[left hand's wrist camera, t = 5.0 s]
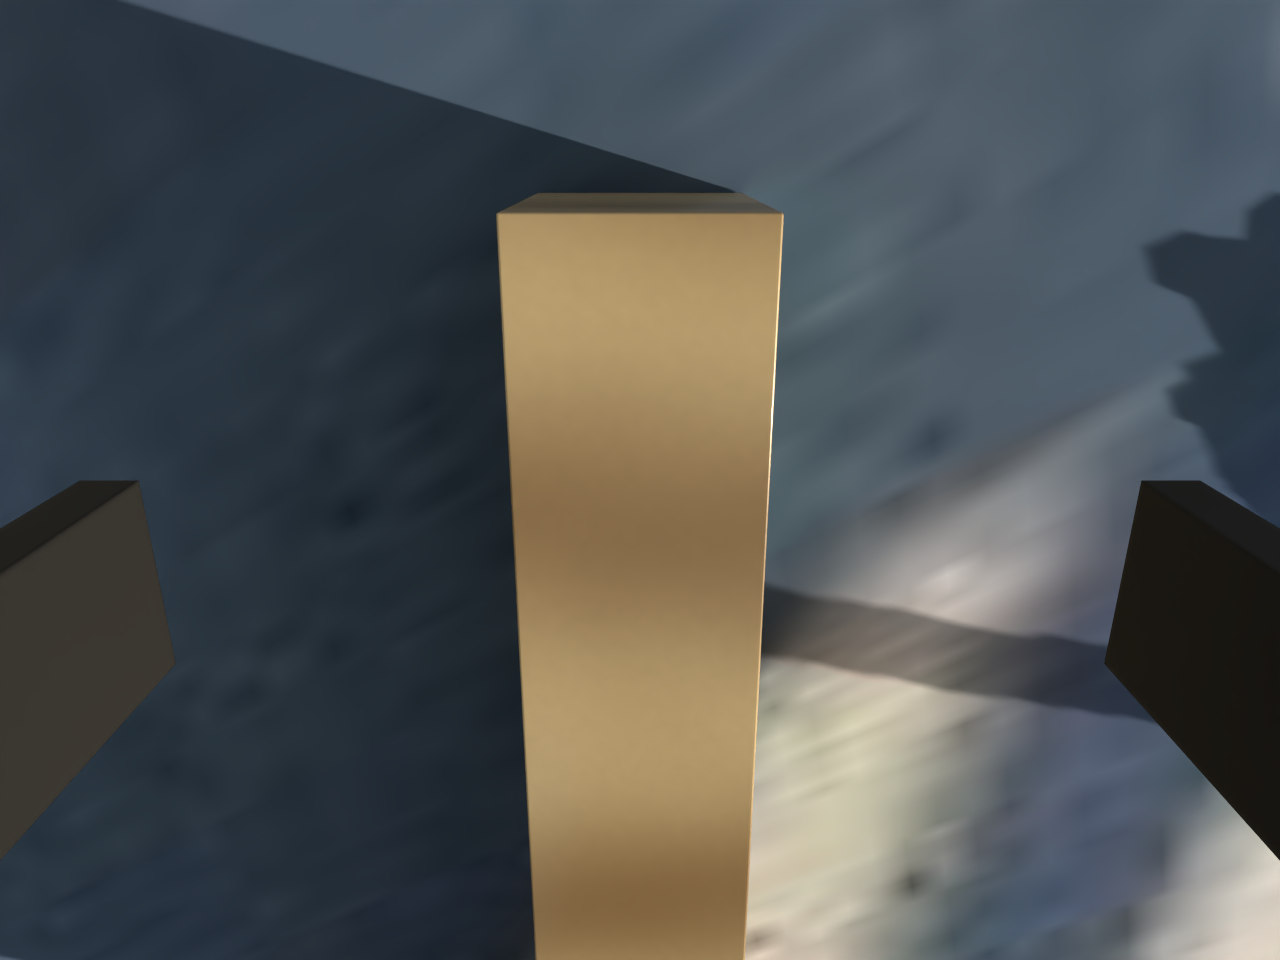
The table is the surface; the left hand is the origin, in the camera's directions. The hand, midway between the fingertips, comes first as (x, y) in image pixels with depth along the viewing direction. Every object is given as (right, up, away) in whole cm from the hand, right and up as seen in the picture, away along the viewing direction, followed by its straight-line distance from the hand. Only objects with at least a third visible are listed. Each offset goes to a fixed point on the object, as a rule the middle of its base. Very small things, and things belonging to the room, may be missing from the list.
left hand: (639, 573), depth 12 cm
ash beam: (0, -7, +21) cm, 22 cm away
